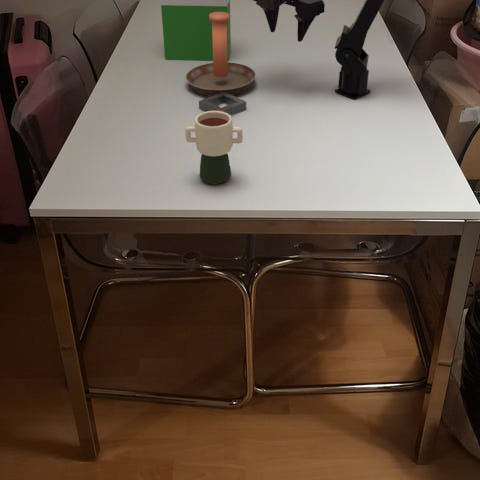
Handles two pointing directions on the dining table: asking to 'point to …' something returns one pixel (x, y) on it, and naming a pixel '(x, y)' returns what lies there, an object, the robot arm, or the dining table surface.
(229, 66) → the plant saucer
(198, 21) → the hardback book
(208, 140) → the cream and green cup
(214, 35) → the stop pin
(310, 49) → the dining table surface
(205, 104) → the collar
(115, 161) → the dining table surface
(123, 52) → the dining table surface
